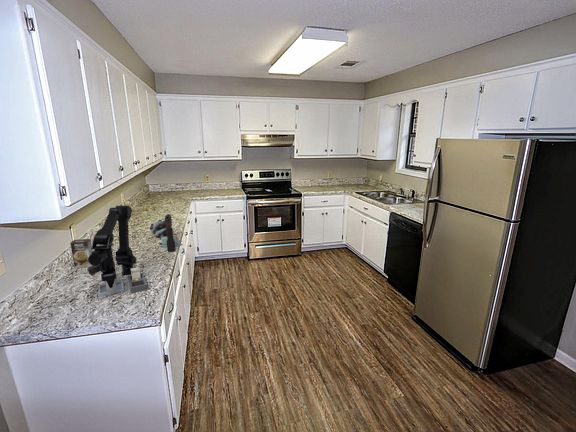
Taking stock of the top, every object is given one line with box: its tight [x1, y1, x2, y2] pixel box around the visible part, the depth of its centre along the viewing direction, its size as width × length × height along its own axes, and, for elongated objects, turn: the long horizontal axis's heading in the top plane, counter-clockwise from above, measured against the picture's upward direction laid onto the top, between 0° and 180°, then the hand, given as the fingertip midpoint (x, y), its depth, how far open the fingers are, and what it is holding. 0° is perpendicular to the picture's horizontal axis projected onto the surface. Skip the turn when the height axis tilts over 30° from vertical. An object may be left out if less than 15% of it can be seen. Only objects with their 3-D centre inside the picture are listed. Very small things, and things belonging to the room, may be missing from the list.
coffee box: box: [69, 238, 93, 269], centre depth 184 cm, size 9×6×16 cm
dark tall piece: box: [158, 213, 184, 253], centre depth 217 cm, size 16×21×33 cm
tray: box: [97, 279, 125, 298], centre depth 156 cm, size 11×11×2 cm
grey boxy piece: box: [127, 266, 148, 294], centre depth 160 cm, size 16×8×8 cm, turn 31°
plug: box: [104, 281, 116, 292], centre depth 155 cm, size 4×4×7 cm
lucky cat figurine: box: [149, 219, 166, 239], centre depth 242 cm, size 15×12×14 cm
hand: (110, 286), depth 155 cm, fingers closed on plug, 4 cm apart
